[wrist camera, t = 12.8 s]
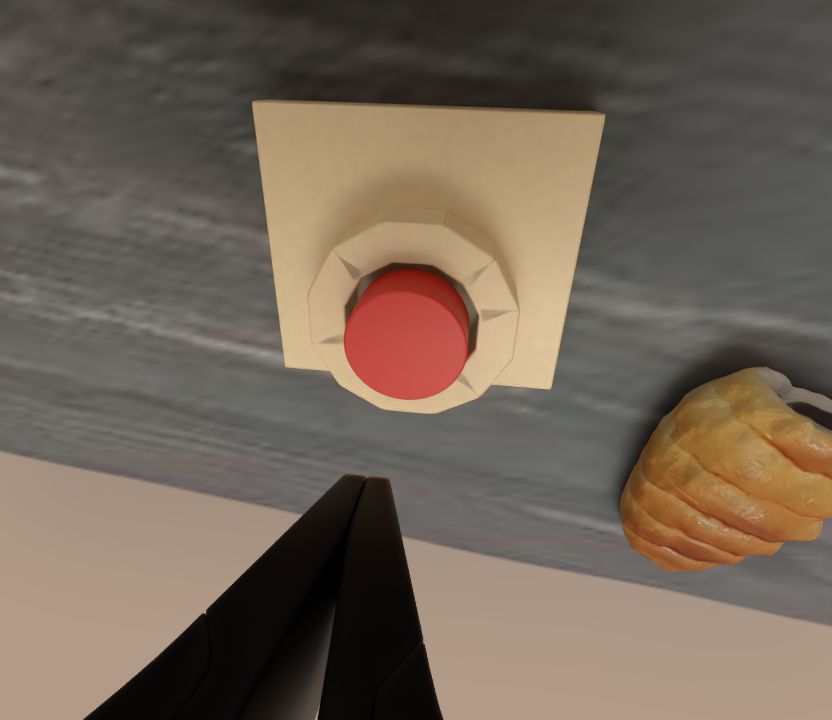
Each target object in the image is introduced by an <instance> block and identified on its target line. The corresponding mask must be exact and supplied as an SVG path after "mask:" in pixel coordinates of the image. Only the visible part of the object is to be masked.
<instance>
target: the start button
mask: <svg viewBox="0 0 832 720" xmlns="http://www.w3.org/2000/svg"><path fill="white" fill-rule="evenodd" d="M468 339H469V316H468V312H467V308H466V306H465V303H464V301H463V299H462V298H461V296H460V294H459V293H458V292H457V291H456V289H455V288H454V287H453V286H451V285H450V284H449V283H448V282H447V281H445V280H444V279H442V278H441V277H439V276H437V275H435V274H432V273H430V272H426V271H422V270H416V269H402V270H396V271H392V272H389V273H387V274H384V275H382V276H380V277H379V278H377V279H376V280H374V281H373V282H372V283H371V284H370V285H369V286H368V287H367V288H366V289H365V291H364V292H363V293H362V295H361V297H360V299H359V301H358V303H357V304H356V306H355V308H354V310H353V312H352V314H351V315H350V317H349V319H348V321H347V324H346V327H345V331H344V350H345V354H346V357H347V360H348V362H349V364H350V366H351V368H352V370H353V371H354V372H355V374H356V375H357V376H358V377H359V378H360V379H361V380H362V382H364V383H365V384H366V385H367V386H369V387H370V388H372V389H373V390H375V391H377V392H379V393H381V394H383V395H386V396H388V397H392V398H396V399H402V400H418V399H424V398H428V397H431V396H434V395H436V394H438V393H440V392H442V391H444V390H445V389H447V388H448V387H449V386H450V385H452V384H453V383H454V382H455V380H456V379H457V378H458V377H459V375H460V374H461V372H462V370H463V368H464V366H465V363H466V360H467V354H468Z"/></svg>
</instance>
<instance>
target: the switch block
mask: <svg viewBox="0 0 832 720" xmlns="http://www.w3.org/2000/svg"><path fill="white" fill-rule="evenodd" d="M252 108H253V115H254V123H255V131H256V139H257V147H258V155H259V163H260V171H261V179H262V187H263V195H264V203H265V210H266V218H267V226H268V234H269V242H270V250H271V258H272V266H273V274H274V282H275V290H276V298H277V305H278V313H279V321H280V329H281V337H282V345H283V353H284V361H285V367H290V368H302V369H314V370H326V371H330V372H331V373H332V375H333V376H334V378H335V379H336V381H337V382H338V383H339V385H341V386H342V387H344V388H346V389H347V390H349V391H351V392H353V393H354V394H356V395H358V396H360V397H362V398H363V399H365V400H367V401H369V402H370V403H372V404H374V405H376V406H378V407H379V408H381V409H385V410H392V411H403V412H414V413H425V414H433V413H434V414H436V413H439V412H441V411H444V410H447V409H450V408H452V407H455V406H458V405H460V404H463V403H466V402H469V401H471V400H474V399H477V398H479V397H480V396H481V395H482V394H483V393H484V392H485V391H486V390H487V388H488V387H489V386H490V385H503V386H515V387H527V388H538V389H551V388H552V383H553V378H554V373H555V368H556V363H557V358H558V353H559V348H560V343H561V338H562V333H563V328H564V323H565V318H566V313H567V308H568V303H569V298H570V293H571V288H572V283H573V278H574V272H575V267H576V262H577V257H578V252H579V247H580V242H581V237H582V232H583V227H584V222H585V217H586V212H587V207H588V202H589V197H590V192H591V187H592V182H593V177H594V172H595V167H596V162H597V157H598V152H599V147H600V142H601V137H602V132H603V127H604V122H605V114H602V113H599V112H596V111H574V110H546V109H518V108H491V107H463V106H436V105H408V104H380V103H353V102H325V101H298V100H270V99H267V100H258V101H253V102H252ZM402 269H416V270H422V271H426V272H430V273H432V274H435V275H437V276H439V277H441V278H442V279H444V280H445V281H447V282H448V283H449V284H450V285H451V286H453V287H454V288H455V289H456V291H457V292H458V293H459V294H460V296H461V298H462V299H463V301H464V303H465V306H466V308H467V312H468V316H469V339H468V354H467V360H466V363H465V366H464V368H463V370H462V372H461V374H460V375H459V377H458V378H457V379H456V380H455V382H454V383H453V384H452V385H450V386H449V387H448V388H447V389H445V390H444V391H442V392H440V393H438V394H436V395H434V396H431V397H428V398H424V399H418V400H402V399H396V398H392V397H388V396H386V395H383V394H381V393H379V392H377V391H375V390H373V389H372V388H370V387H369V386H367V385H366V384H365V383H364V382H362V380H361V379H360V378H359V377H358V376H357V375H356V374H355V372H354V371H353V370H352V368H351V366H350V364H349V362H348V360H347V357H346V354H345V350H344V331H345V327H346V324H347V321H348V319H349V317H350V315H351V314H352V312H353V310H354V308H355V306H356V304H357V303H358V301H359V299H360V297H361V295H362V293H363V292H364V291H365V289H366V288H367V287H368V286H369V285H370V284H371V283H372V282H373V281H374V280H376V279H377V278H379V277H380V276H382V275H384V274H387V273H389V272H392V271H396V270H402Z"/></svg>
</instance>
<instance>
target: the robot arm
mask: <svg viewBox="0 0 832 720" xmlns="http://www.w3.org/2000/svg"><path fill="white" fill-rule="evenodd" d="M319 704H320V707H319ZM318 708H319V714H318V720H443V717H442V713H441V711H440V707H439V704H438V700H437V696H436V692H435V688H434V684H433V679H432V675H431V671H430V668H429V662H428V658H427V653H426V648H425V644H424V643H423V635H422V630H421V626H420V621H419V617H418V611H417V607H416V602H415V597H414V593H413V588H412V584H411V578H410V574H409V569H408V565H407V560H406V555H405V550H404V546H403V541H402V536H401V531H400V527H399V522H398V517H397V512H396V508H395V503H394V498H393V494H392V489H391V484H390V481H389V479H388V478H381V477H372V476H371V477H368V478H366V477H365V476H362V475H352V474H346V475H344V476H342V477H341V478H340V479H339V480H338V481H337V482H336V483H335V484H334V485H333V486H332V487H331V488H330V489H329V490H328V491H327V492H326V493H325V494H324V495H323V496H322V497H321V498H320V499H319V500H318V501H317V502H316V503H315V504H314V505H313V506H312V507H311V508H310V509H309V510H308V511H307V512H306V513H305V514H304V515H303V516H302V517H301V518H300V519H299V520H298V521H296V522H295V523H294V524H293V525H292V526H291V527H290V528H289V529H288V530H287V531H286V532H285V533H284V534H283V535H282V536H281V537H280V538H279V539H278V540H277V541H276V542H275V543H274V544H273V545H272V546H271V547H270V548H269V549H268V550H267V551H266V552H265V553H264V554H263V555H262V556H261V557H260V558H259V559H258V560H257V561H256V562H255V563H254V564H253V565H252V566H251V567H250V568H249V569H247V570H246V571H245V573H243V575H241V576H240V577H239V578H238V579H237V580H236V581H235V582H234V583H233V584H232V585H231V586H230V587H229V588H228V589H227V590H226V591H225V592H224V593H223V594H222V595H221V596H220V597H219V598H218V599H217V600H216V601H215V602H214V603H213V604H212V605H211V606H210V607H209V608H208V609H207V610H206V614H204V613H203V614H201V615H200V616H199V617H198V618H197V619H196V620H195V621H194V622H193V623H192V624H191V625H190V626H189V627H188V628H187V629H186V630H185V631H184V632H183V633H182V634H181V635H180V636H179V637H178V638H176V639H175V640H174V641H173V642H172V643H171V644H170V645H169V646H168V647H167V648H166V649H165V650H164V651H163V652H162V653H160V654H159V655H158V656H157V657H156V658H155V659H154V660H153V661H152V662H151V663H149V664H148V665H147V666H146V667H145V668H144V669H142V671H140V672H139V673H138V674H137V675H136V676H134V677H133V678H132V679H131V680H130V681H129V682H127V683H126V684H125V685H124V686H123V687H122V688H120V689H119V690H118V691H117V692H116V693H115V694H113V695H112V696H111V697H110V698H108V699H107V700H106V701H105V702H104V703H102V704H101V705H100V706H99V707H98V708H96V709H95V710H94V711H93V712H92V713H90V714H89V715H88V716H87V717H86V718H84V719H83V720H315V717H316V714H317V711H318Z"/></svg>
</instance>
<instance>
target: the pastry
mask: <svg viewBox="0 0 832 720" xmlns="http://www.w3.org/2000/svg"><path fill="white" fill-rule="evenodd" d="M620 517H621V522H622V526H623V531H624V534H625V536H626V537H627V539H628V541H629V543H630V545H631V547H632V548H633V549H634V550H635V551H636V552H638V553H639V554H641V555H643V556H644V557H646V558H648V559H650V560H652V561H653V562H654V563H655V564H656V565H657V566H659V567H660V568H662V569H663V570H665V571H700V570H704V569H707V568H711V567H714V566H717V565H719V564H728V565H736V564H737V563H738V562H740V561H741V560H743V559H744V558H745V557H746V556H748V555H755V554H761V555H773V554H774V553H776V552H777V550H778V549H779V548H780V547H781V545H782V544H783V543H784V542H788V541H792V540H799V541H809V540H813V539H816V538H818V536H819V534H820V532H821V531H822V526H823V519H825V518H830V517H832V400H831V399H829V398H827V397H825V396H824V395H822V394H818V393H813V392H810V391H808V390H806V389H802V388H795V387H792V385H791V382H790V381H789V380H788V378H787V377H786V376H785V375H783V374H782V373H779V372H776V371H774V370H771V369H769V368H767V367H754V368H747V369H743V370H740V371H738V372H735V373H732V374H730V375H727V376H724V377H721V378H718V379H714V380H712V381H709V382H707V383H705V384H703V385H701V386H699V387H697V388H695V389H693V390H692V391H690V392H688V393H686V394H685V396H684V397H683V399H682V400H681V401H680V403H679V404H678V405H677V406H676V407H675V408H674V409H673V410H672V411H671V412H670V413H669V414H667V415H664V416H663V418H662V420H661V421H660V423H659V425H658V427H657V429H656V430H655V431H654V432H653V433H652V435H651V437H650V439H649V442H648V443H647V445H646V446H645V447H644V449H643V450H642V452H641V455H640V458H639V460H638V462H637V464H636V466H635V465H634V469H633V471H632V472H631V474H630V476H629V478H628V481H627V483H626V486H625V488H624V490H623V493H622V495H621V500H620Z"/></svg>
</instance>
